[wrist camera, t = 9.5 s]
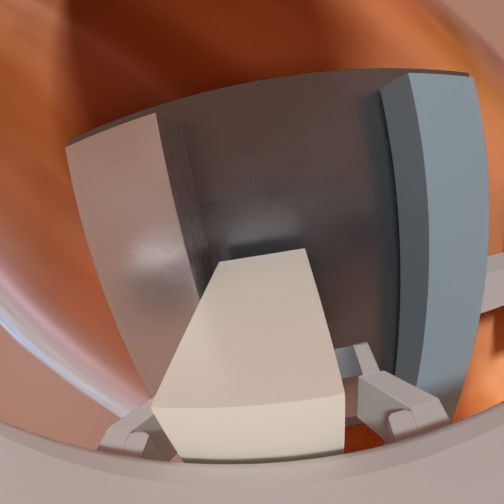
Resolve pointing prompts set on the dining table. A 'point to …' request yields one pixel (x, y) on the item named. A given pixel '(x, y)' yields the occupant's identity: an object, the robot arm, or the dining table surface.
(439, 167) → the vise jaw
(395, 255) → the vise bed
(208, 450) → the block
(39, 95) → the dining table surface
